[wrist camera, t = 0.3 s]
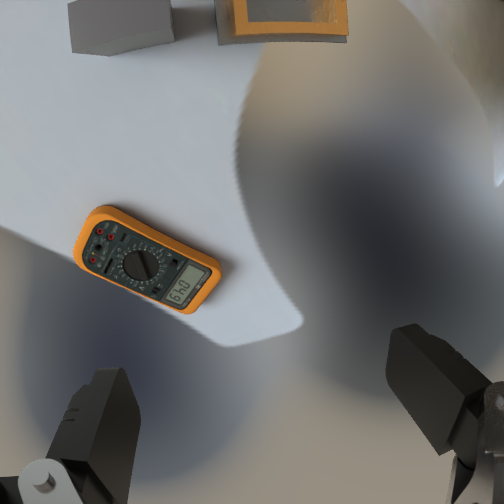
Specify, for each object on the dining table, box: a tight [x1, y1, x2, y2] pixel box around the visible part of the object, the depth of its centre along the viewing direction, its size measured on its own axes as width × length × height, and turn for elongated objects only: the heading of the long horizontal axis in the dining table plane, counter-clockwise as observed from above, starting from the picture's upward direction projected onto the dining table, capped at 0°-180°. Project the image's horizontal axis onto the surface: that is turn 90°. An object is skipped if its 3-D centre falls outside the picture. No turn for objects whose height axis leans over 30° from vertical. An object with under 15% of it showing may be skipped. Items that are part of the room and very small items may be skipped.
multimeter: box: [73, 206, 222, 314], centre depth 38 cm, size 9×18×3 cm, turn 53°
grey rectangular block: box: [68, 0, 175, 56], centre depth 20 cm, size 7×4×12 cm, turn 95°
